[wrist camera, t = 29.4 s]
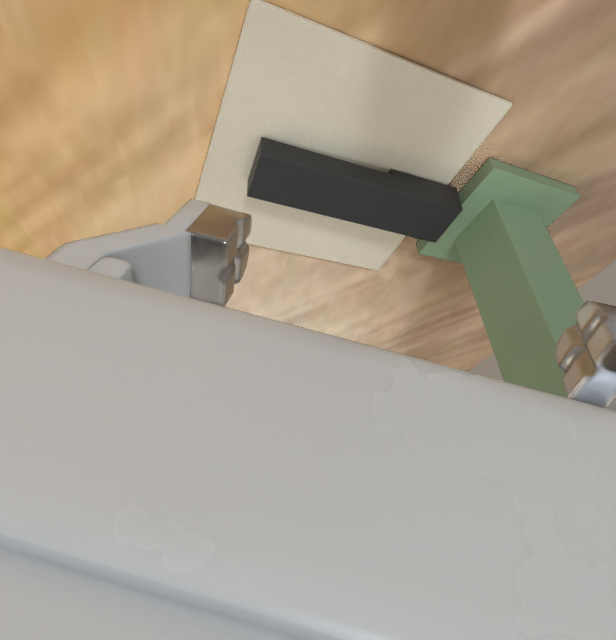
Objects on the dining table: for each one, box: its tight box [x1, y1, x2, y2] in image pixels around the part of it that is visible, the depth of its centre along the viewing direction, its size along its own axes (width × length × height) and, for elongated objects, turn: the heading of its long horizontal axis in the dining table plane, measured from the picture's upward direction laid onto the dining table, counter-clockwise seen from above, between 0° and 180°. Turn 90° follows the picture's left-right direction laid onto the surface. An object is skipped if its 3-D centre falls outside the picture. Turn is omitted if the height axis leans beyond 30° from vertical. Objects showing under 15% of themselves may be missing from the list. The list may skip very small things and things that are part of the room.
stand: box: [416, 158, 584, 398], centre depth 42 cm, size 11×12×26 cm
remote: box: [247, 137, 463, 243], centre depth 43 cm, size 19×5×3 cm, turn 70°
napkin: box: [194, 0, 513, 270], centre depth 42 cm, size 22×22×1 cm
